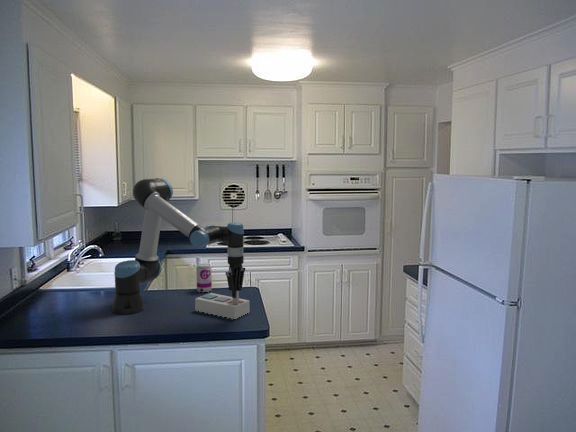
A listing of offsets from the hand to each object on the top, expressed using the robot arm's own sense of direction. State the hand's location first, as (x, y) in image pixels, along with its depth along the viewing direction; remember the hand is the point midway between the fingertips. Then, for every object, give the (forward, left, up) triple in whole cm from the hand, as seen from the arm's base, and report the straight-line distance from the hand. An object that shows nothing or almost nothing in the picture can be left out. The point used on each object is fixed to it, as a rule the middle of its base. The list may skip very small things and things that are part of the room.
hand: (235, 303), depth 231 cm
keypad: (0, +8, -6) cm, 10 cm away
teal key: (0, +16, -3) cm, 16 cm away
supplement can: (+23, +39, -6) cm, 46 cm away
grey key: (0, +8, -3) cm, 9 cm away
